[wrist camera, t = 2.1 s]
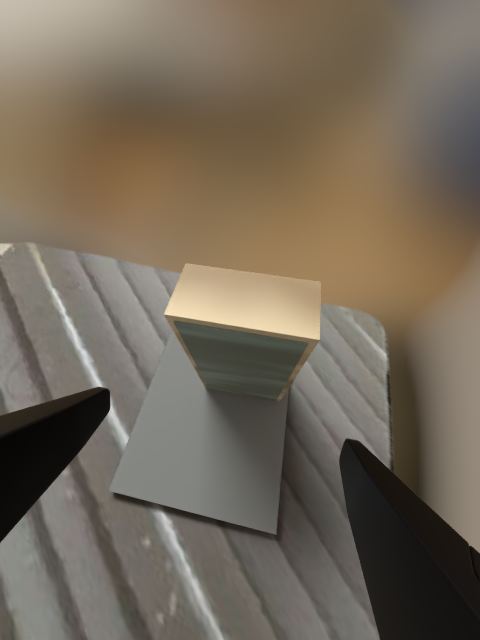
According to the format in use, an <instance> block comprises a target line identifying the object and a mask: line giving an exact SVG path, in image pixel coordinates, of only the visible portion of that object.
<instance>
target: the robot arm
mask: <svg viewBox="0 0 480 640" xmlns="http://www.w3.org/2000/svg"><path fill="white" fill-rule="evenodd" d="M109 410H110V391H109V389H107V388H102V387H96V388H93V389H89V390H86V391H83V392H79V393H76V394H72V395H69V396H66V397H62V398H59V399H55V400H52V401H49V402H45V403H42V404H39V405H35V406H32V407H28V408H25V409H22V410H18V411H15V412H12V413H8V414H5V415H1V416H0V542H1V541H2V540H3V539H4V538H5V537H6V536H7V534H8V533H9V532H10V531H11V530H12V529H13V528H14V526H15V525H16V524H17V523H18V522H19V521H20V520H21V518H22V517H23V516H24V515H25V514H26V513H27V511H28V510H29V509H30V508H31V507H32V506H33V505H34V503H35V502H36V501H37V500H38V499H39V498H40V497H41V495H42V494H43V493H44V492H45V491H46V490H47V489H48V487H49V486H50V485H51V484H52V483H53V482H54V481H55V479H56V478H57V477H58V476H59V475H60V474H61V472H62V471H63V470H64V469H65V468H66V467H67V466H68V464H69V463H70V462H71V461H72V460H73V459H74V458H75V456H76V455H77V454H78V453H79V452H80V450H81V449H82V448H83V447H84V445H85V444H86V443H87V441H88V440H89V439H90V437H91V436H92V435H93V433H94V432H95V430H96V429H97V428H98V426H99V425H100V424H101V422H102V421H103V420H104V418H105V417H106V415H107V414H108V412H109ZM339 463H340V470H341V476H342V483H343V489H344V495H345V501H346V507H347V513H348V517H349V521H350V525H351V529H352V533H353V537H354V541H355V544H356V548H357V552H358V556H359V560H360V564H361V567H362V571H363V575H364V579H365V583H366V587H367V590H368V594H369V598H370V602H371V606H372V610H373V613H374V617H375V621H376V625H377V629H378V633H379V636H380V640H480V553H479V552H477V551H476V550H475V549H474V548H473V547H472V546H469V544H468V543H467V541H465V539H463V538H462V537H461V536H460V535H459V534H458V533H457V532H456V531H455V530H454V529H453V528H452V527H451V526H450V525H448V524H447V523H446V522H445V521H444V520H443V519H442V518H441V517H440V516H439V515H438V514H437V513H436V512H435V511H433V510H432V509H431V508H430V507H429V506H428V505H427V504H426V503H425V502H424V501H423V500H422V499H421V498H419V497H418V496H417V495H416V494H415V493H414V492H413V491H412V490H411V489H410V488H409V487H408V486H407V485H406V484H405V483H403V482H402V481H401V480H400V479H399V478H398V477H397V476H396V475H395V474H394V473H393V472H392V471H391V470H390V469H388V468H387V467H386V466H385V465H384V464H383V463H382V462H381V461H380V460H379V459H378V458H377V457H376V456H375V455H373V454H372V453H371V452H370V451H369V450H368V449H367V448H366V447H365V446H364V445H363V444H362V443H361V442H359V441H358V440H353V439H346V440H345V441H344V444H343V448H342V451H341V455H340V459H339Z"/></svg>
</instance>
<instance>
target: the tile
mask: <svg viewBox="0 0 480 640" xmlns="http://www.w3.org/2000/svg"><path fill="white" fill-rule="evenodd" d="M320 298H321V282H319V281H311V280H304V279H297V278H289V277H281V276H275V275H267V274H260V273H253V272H245V271H238V270H230V269H223V268H216V267H208V266H201V265H194V264H187V263H186V265H185V266H184V269H183V271H182V273H181V276H180V278H179V280H178V283H177V285H176V287H175V290H174V292H173V294H172V297H171V299H170V301H169V304H168V306H167V309H166V311H165V313H164V315H165V317H166V319H167V320H168V322H169V324H170V326H171V328H172V329H173V331H174V333H175V335H176V336H177V338H178V340H179V342H180V344H181V345H182V347H183V349H184V351H185V352H186V354H187V356H188V358H189V360H190V361H191V363H192V365H193V367H194V368H195V370H196V372H197V374H198V375H199V377H200V379H201V381H202V383H203V384H204V386H205V387H206V388H211V389H216V390H221V391H226V392H231V393H236V394H241V395H246V396H251V397H256V398H261V399H266V400H271V401H277V402H280V401H281V399H282V397H283V396H284V394H285V393H286V391H287V390H288V388H289V387H290V385H291V383H292V382H293V380H294V379H295V377H296V376H297V374H298V373H299V371H300V369H301V368H302V366H303V365H304V363H305V362H306V360H307V359H308V357H309V355H310V354H311V352H312V351H313V349H314V348H315V346H316V345H317V343H318V341H319V340H320Z"/></svg>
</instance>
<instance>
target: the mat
mask: <svg viewBox="0 0 480 640" xmlns="http://www.w3.org/2000/svg"><path fill="white" fill-rule="evenodd" d="M288 395H289V388H288V390H287V391H286V393H285V394H284V396H283V397H282V399H281V401H280V402H277V401H271V400H266V399H261V398H256V397H251V396H246V395H241V394H236V393H231V392H226V391H221V390H216V389H211V388H206V387H205V386H204V384H203V383H202V381H201V379H200V377H199V375H198V374H197V372H196V370H195V368H194V367H193V365H192V363H191V361H190V360H189V358H188V356H187V354H186V352H185V351H184V349H183V347H182V345H181V344H180V342H179V340H178V338H177V336H176V335H175V333H174V331H173V329H172V331H171V333H170V336H169V338H168V341H167V343H166V346H165V349H164V351H163V354H162V356H161V359H160V361H159V364H158V366H157V369H156V371H155V374H154V377H153V379H152V382H151V384H150V387H149V389H148V392H147V394H146V397H145V399H144V402H143V405H142V407H141V410H140V412H139V415H138V417H137V420H136V422H135V425H134V428H133V430H132V433H131V435H130V438H129V440H128V443H127V445H126V448H125V450H124V453H123V456H122V458H121V461H120V463H119V466H118V468H117V471H116V473H115V476H114V479H113V481H112V484H111V486H110V489H109V491H112V492H115V493H119V494H123V495H127V496H131V497H134V498H138V499H142V500H146V501H150V502H153V503H157V504H161V505H165V506H169V507H172V508H176V509H180V510H184V511H188V512H191V513H195V514H199V515H203V516H207V517H211V518H214V519H218V520H222V521H226V522H230V523H233V524H237V525H241V526H245V527H249V528H252V529H256V530H260V531H264V532H268V533H271V534H275V535H276V531H277V520H278V508H279V497H280V486H281V474H282V463H283V452H284V440H285V429H286V418H287V406H288Z"/></svg>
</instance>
